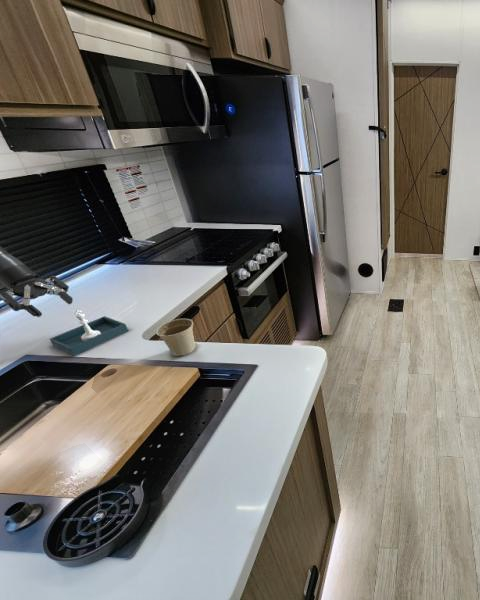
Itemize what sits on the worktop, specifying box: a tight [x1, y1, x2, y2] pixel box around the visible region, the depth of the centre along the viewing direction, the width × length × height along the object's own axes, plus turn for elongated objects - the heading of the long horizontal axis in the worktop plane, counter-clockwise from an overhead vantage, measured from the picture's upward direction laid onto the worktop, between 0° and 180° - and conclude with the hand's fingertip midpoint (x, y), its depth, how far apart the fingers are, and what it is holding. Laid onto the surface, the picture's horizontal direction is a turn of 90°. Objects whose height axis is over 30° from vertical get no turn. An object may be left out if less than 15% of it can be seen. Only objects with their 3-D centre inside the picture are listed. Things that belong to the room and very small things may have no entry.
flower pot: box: [155, 318, 196, 357], centre depth 99 cm, size 9×9×9 cm
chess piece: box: [74, 309, 101, 341], centre depth 105 cm, size 5×5×10 cm
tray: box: [49, 315, 129, 357], centre depth 107 cm, size 15×12×3 cm
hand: (56, 308), depth 105 cm, fingers open, 8 cm apart
